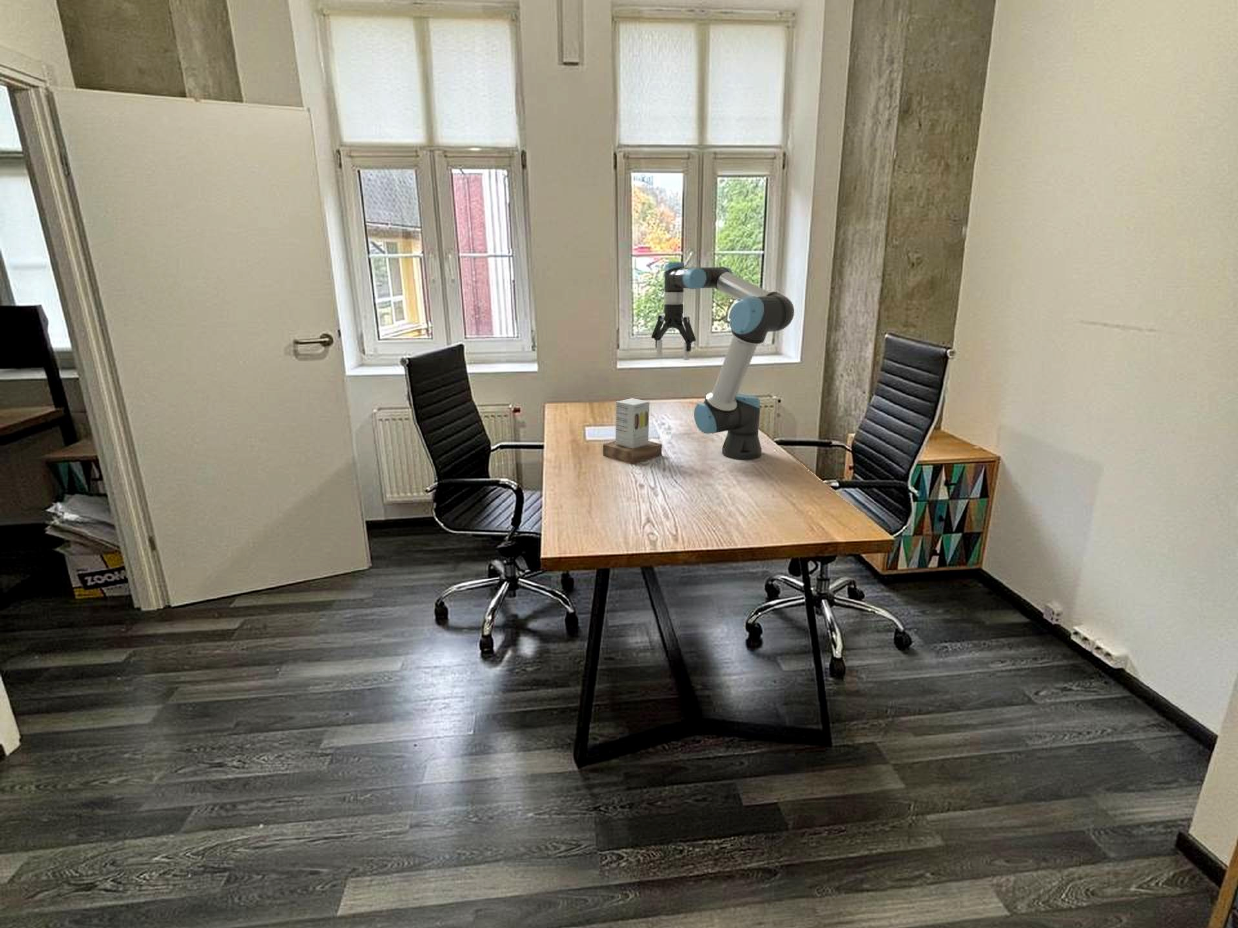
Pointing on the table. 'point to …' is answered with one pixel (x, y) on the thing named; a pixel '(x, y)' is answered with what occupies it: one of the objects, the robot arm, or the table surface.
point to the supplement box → (632, 423)
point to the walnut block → (632, 452)
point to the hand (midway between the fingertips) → (672, 358)
